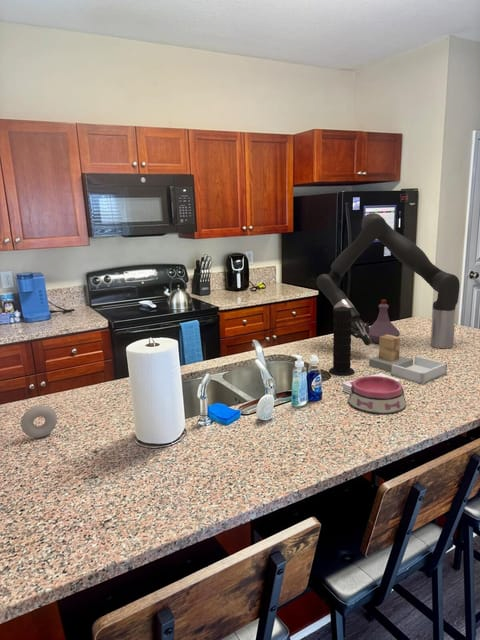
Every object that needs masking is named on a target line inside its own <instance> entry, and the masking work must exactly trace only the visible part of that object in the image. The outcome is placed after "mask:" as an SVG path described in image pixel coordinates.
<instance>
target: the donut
mask: <svg viewBox="0 0 480 640" xmlns="http://www.w3.org/2000/svg"><path fill="white" fill-rule="evenodd" d="M37 418H43V419H44V420H45V421H44V423H43V424H42V425H39V426H38V425H35V424H34V422H35V420H36V419H37ZM57 423H58V416H57V412H55V410H54V409H53V408H52V407H50V406H49V405H44V404H43V405H42V404H41V405H35V406H33V407H30V408H29V409H28V410H26V411H25V413H24V414H23V415H22V417H21V420H20V428H21V431H22V432H23V433H24V434H25V435H26V436H28V437H30V438H35V439H37V438H38V439H39V438H43V437H46V436H48V435H49V434H51V433H52V432H53V430H54V429H55V428H56V425H57Z"/></svg>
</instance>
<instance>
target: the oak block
mask: <svg viewBox="0 0 480 640" xmlns="http://www.w3.org/2000/svg"><path fill="white" fill-rule="evenodd" d="M400 343H401V337H399V336H398V337H396V336H392V335H384V336H381V337H379V343H378V356H379V358H380V359H384V360H387V361H391V362H392V361H395V360H397V359H399V356H400V346H401V344H400Z"/></svg>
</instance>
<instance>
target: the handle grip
mask: <svg viewBox="0 0 480 640" xmlns="http://www.w3.org/2000/svg"><path fill="white" fill-rule="evenodd" d="M351 310H352V309H351V308H348V307H343V306H341V307H337V308H334V307H333V316H332V317H333V319H332V320H333V322H332V326H333V327H332V329H333V331H332V334H333V335H332V337H333V338H332V341H333V343H332V349H333V350H332V352H333V353H332V357H333V358H332V360H333V361H332V367H330V368H329V370H328V373H329V375H330V374H331V375H333V376H335V377H348V376H352V375H354V374H355V373H356V372H355V370H354V368H352V367H351V366H352V364H351V361H352V358H351V357H352V354H351V353H352V351H351V350H352V346H351V345H352V335H351V320H352V319H351V317H352V315H351Z"/></svg>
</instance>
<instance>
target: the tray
mask: <svg viewBox="0 0 480 640" xmlns="http://www.w3.org/2000/svg"><path fill="white" fill-rule="evenodd" d="M447 371H448V363H447V362H443V361H439V360H438V361H437V360H434V359H430V358H426V357H422V356H418V355H415V356H414V360H413V365H412V366H409V367H406V368H404V367H401V366H397V365H394V364H393V365H392V371H391V372H390V373H391V375H390V376H393V377H394V376H395V377H397V378H401V379H404V380H407V381H410V382H414V383H417V384H420V385H424V384H426V383H428V382H431V381H433V380H435V379H437V378H439V377H442V376H444V375H447V373H448V372H447Z"/></svg>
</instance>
